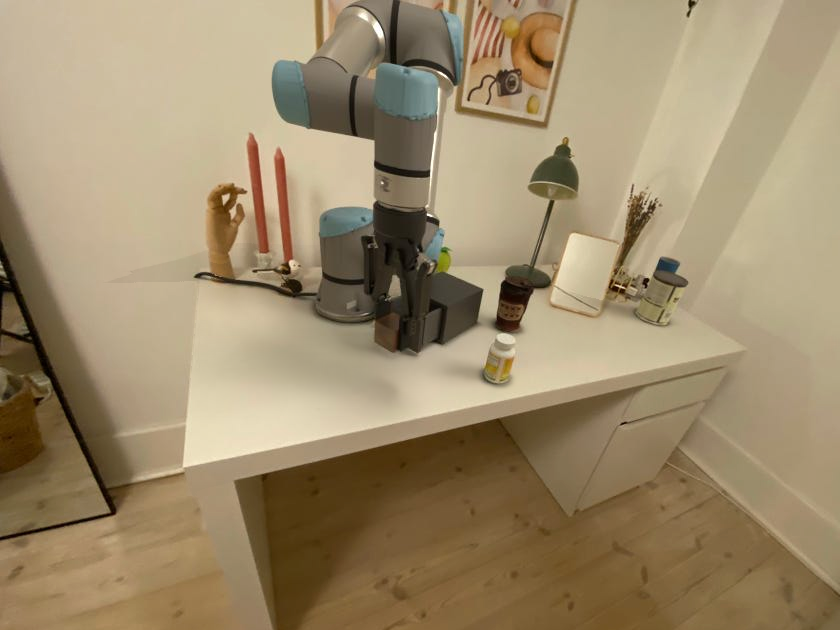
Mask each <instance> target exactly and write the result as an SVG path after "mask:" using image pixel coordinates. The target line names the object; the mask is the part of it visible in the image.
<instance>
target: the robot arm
mask: <svg viewBox="0 0 840 630" xmlns="http://www.w3.org/2000/svg"><path fill="white" fill-rule="evenodd" d="M463 59H464V27H463V23H462V20H461V18H460V17H459V16H457V15H456V14H454V13H450V12H448V11H445V10H444V9H442V8H440V9H436V8H431V7H428V6H424V5H420V4H416V3H412V2H409V1H404V0H356V1H354V2H352V3H350V4H348V5H347V6H346V7H344V8H342V10H341V11H340V12H339V13H338V14H337V16H336V19H335V22H334V26H333V32H332V33H331V34H330V35H329V37H328V38H327V39H326V40H325V41H324V42H323V44H322V45H321V46H320V47H319V48H318V49H317V50H316V51H315V53H314V54H313V55H312V56H311V58H309V60H308V61H307V62H306V63H303V62H300V61H299V60H288V59H287V60H286V59H278V60H277V61H276V62H275V63H274V65H273V67H272V71H271V92H272V98H273V103H274V106H275V109H276V112H277V113H278V115H279V117H280V118H281V119H282V120H283V121H284V122H286V123H287V124H290V125H295V126H299V127H301V128H302V127H303V128H306V130H315V131H320V132H327V133H332V134H338V135H342V136H349V137H355V138H358V139H364V140H369V141H374V142H373V143H374V144H373V147H374V149H373V150H374V153H373V154H374V155H373V157H374V158H373V198H374V199H375V201H374V202H373V204H372V209H371V208H368V207H363V206H339V207H334V208H329V209H327V210H325V211H323V212H322V213H321V214H320V216H319V220H318V224H319V227H318V229H319V231H318V237H319V251H320V265H321V279H320V283H319V286H318V289H317V292H295V293H292V292H293V291H289V290H286V289H284V288H281V287H279V286H277V285H274V284H272V283H267V282H263V281H262V282H261V281H255V280H246V279H245V280H244V279H237V278H230V277H225V276H222V277H219V276H220V275H219V276H215V275H214V274H215V273H213V272H209V271H200V272H198V273H195V275H194V276H193V278H194V279H198V278H200V277H211V278H214V279H217V280H220V281H223V282H227V283H232V284H233V283H234V284H240V285H250V286H251V285H252V286H260V287H265V288H269V289H272V290H275V291H277V292H279V293H283V294H285V295H288V296H292V297H315V298H314V300H315V301H314V303H315V309H316V312H317V313H318V314H319V315H320V316H322V317H324V318H325V319H328V320H331V321H334V322H340V323H360V322H366V321H370V320H372V319H375V320H377V319H380V318H382V317H384V316H387V315H389V314H390V311H391V302H390V299H391V295H390V294H389V292H390V290H391V289H390V288H391V285H392V282H393V277H394V276H396V277H397V278H398V279H399V280H398V281H399V287H400V295H401V297H402V306H403V314H404V315H403V316H401V317H399V335H398V351H397V352H401V353H402V352H403V351H406V350H407V349H408V347H410V346H411V343H412V334H414V333H415V331H416V322H417V321H418V320H419V319H421V318H423V317H425V316H427V315H428V311H429V303H430V295H431V287H432V279H433V276H434V274H435V272H436V268H437V265H438V260H439V256H440V252H441V247H442V246H443V244H444V238H445V234H446V230H445V229H443V227H440V223H441V222H440V221H441V220H440V218H439V216H438V215H437V214H436V213H435V212H436V211H435V205H436V196H437V184H438V178H439V165H440V159H441V158H440V156H441V147H442V139H443V130H444V119H445V110H446V100H448V99H449V98H450V97H451V96H452V95H453V94H454V91H455V87H458V86H461V84H462V78H463V70H464V69H463V68H464V67H463V65H464V62H463V61H464V60H463ZM373 70H375V78H371V77H369V74H370V73H371V71H373ZM212 273H213V274H212ZM388 299H389V300H388ZM385 300H386V301H385Z"/></svg>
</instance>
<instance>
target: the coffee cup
mask: <svg viewBox="0 0 840 630" xmlns="http://www.w3.org/2000/svg"><path fill="white" fill-rule="evenodd" d="M533 285H534V282H533V281H532V280H530V279H528V278H527V277H523V276H516V275H511V276H505V278H504V280H503V281H501V282H500V289H499V296H498V303H497V308H496V309H497V310H496V319H495V326H496V327H497V328H498V329H500V330H502V331H505V332H518V331H519V330H520V326H521V325H520V324H521V322H522V319H523V317H524V315H525V313H526V311H527V309H528V305H529V302H530V299H531V296H532V295H533V294H534V292H535V289H534V288H535V287H533Z"/></svg>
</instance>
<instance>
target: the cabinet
mask: <svg viewBox="0 0 840 630" xmlns="http://www.w3.org/2000/svg"><path fill="white" fill-rule="evenodd" d="M483 295H484V288H482V287H480V286H478V285H475V284H473V283H471V282H468V281H466V280H464V279H462V278H459V277H457V276H455V275H452V274H451V273H447V272H446V273H445V272H443V271H442V272H439V273H436V274H434V276H433V279H432V287H431V295H430V302H431V303H433V304H436V305H438V306H440V307H442V308H444V314H443V321H442V329H441V336H439V337H438V338H436V339H434V340H433V341H435V342H437V343H438V344H441V345H444V344H446V343H447V342H449V341H450V340H452V339H454V338H456V337H457V336H459V335H460V334H462V333H464V332H465V331H467V330H469V329H470V328H472V327H473V326H475V325H477V324H478V320H479V314H480V311H481V310H480V309H481V304H482V301H483Z"/></svg>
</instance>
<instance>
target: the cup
mask: <svg viewBox="0 0 840 630" xmlns="http://www.w3.org/2000/svg"><path fill="white" fill-rule="evenodd" d="M680 265H681V262H680V261H679V260H677V259H675V258H672V257H669V256H659V259H658V261H657V263H656V265H655V269H654V271H657V270H661V271H667V272H671V273H674V274H677V271H678V269H679V267H680Z"/></svg>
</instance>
